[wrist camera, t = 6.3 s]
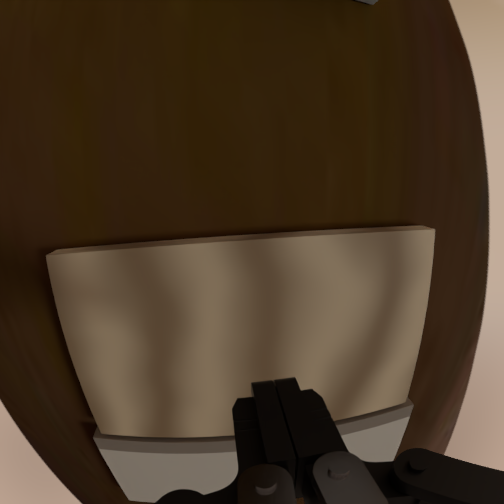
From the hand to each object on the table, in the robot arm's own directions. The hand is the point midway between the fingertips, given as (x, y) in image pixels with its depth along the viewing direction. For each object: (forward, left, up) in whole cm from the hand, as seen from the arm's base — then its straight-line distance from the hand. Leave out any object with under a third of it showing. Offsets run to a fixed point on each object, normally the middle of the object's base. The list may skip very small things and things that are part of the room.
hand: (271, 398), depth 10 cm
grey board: (0, -16, -9) cm, 18 cm away
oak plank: (0, -3, -9) cm, 10 cm away
